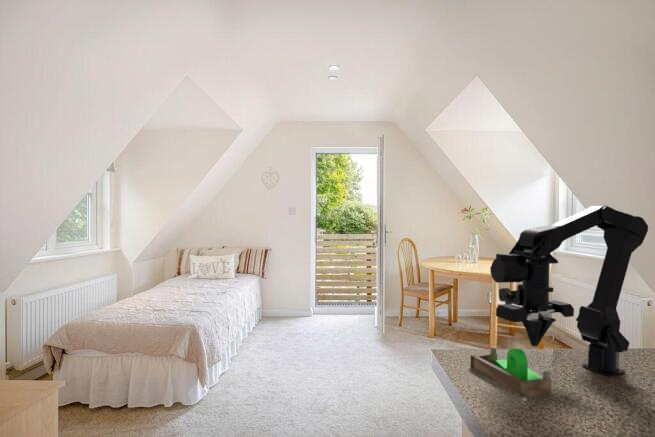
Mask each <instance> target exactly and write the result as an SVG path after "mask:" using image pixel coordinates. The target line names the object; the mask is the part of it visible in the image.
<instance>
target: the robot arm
mask: <svg viewBox="0 0 655 437" xmlns="http://www.w3.org/2000/svg"><path fill="white" fill-rule="evenodd" d="M594 227H596V228H598V229H600V230H602V231H603V240H604V242H605V244H606V252H605V256H604V260H603V264H602V266H601V269H600V274H599V275H598V276H599V277H598V281H597V284H596V287H595V292H594V293H593V294H594V295H593V298H592V301H591V302H590V303H589V304H588V305H587V306H584V305H581V306H580V307H579V310H578V315H577V317H576V319H575V321H576V322H577V324H576V328H577V330H578V331H579V334H580V336H581V340H582V341H584V342H587V343H589V344H588V352H587V363H582V367H584V368H586V369H588V370H591V371H593V372H596V373H598V374H601V375H603V376H606V377H610V376H615V375H617V376H618V375H622V374H625V373H626V370H624V369H621V368H620V353H623V352H628V350H629V349H628V348H629V346H630V341H629V340H628V339H627V338H626V337H625V336H624V335H623V333H621V331H620V328H621V319H620V317H619V314H618V310H617V306H618V304H619V303H618V302H619V298H620V296H621V292H622V289H623V286H624V281H625V278H626V275H627V270H628V267H629V265H630V264H629V263H630V260H631V257H632V256H631V255H632V254H633V252H635V251H636V250H637V249H638V248H639V247H640V246H641V245H642V244H643V243H644V240H645V238H646V237H647V234H648V230H649V225H648V223H647V222H646V220H645V219H644V218H643V217H641V216H636V215H632V214H630V213H626V212H623V211H619V210H617V209H614V208H612V207H611V206H609V205H590V206H589V207H587V208H586V209H584V210H582V211H580V212H577V213H575V214H573V215H570V216H568V217H566V218H564V219H562V220H560V221H557V222H554V223H553V224H550V225H544V226H537V227H532V228H527V229H524V230H523V231H521V232H520V234H519V237H518V240H517V242H515V245H514V246H513V247H512V249H511V250H509V253H508V254H506V253H505V254H504V253H496V254H495V259H493V261H492V263H491V266H490V267H489V268H490V269H489V270H490V275H491V278H492V280H493V281H494V282H495V283H497V284H498V283H499V284H501V283H502V284H503V283H520V284H518V285H517V287H516V288H517V289H516V290H511V289H510V288H509V287H502V288H499V290H498V298H499V299H498V300H499V302H504V304H499V305H497V306H496V307H495V310H496V311H495V316H496V317H497V318H501V319H503V320H506V321H509V322H513V323H522V325H523V327H524V328H525V331H526V334H527V337H528V339H529V342H530V345H531V346H532V347H534V348H535V347H538V346H539V345H540V343H541V341H542V340H543V338H544V336H545V334H546V333H547V331H548V330H549V329H550V327H551V326H552V325H553V323H554V322H556V321H557V319H556V318H554V317H552V314H554V313H560V314H561V315H562V316H563V317H564V318H570V317H574V315H575V308H574V307H573V305H572V304H571V303H567V302H563V301H560V300H554V299H552V300H550V293H554V287H553V286H552V287H551V286H550V264H551V265H552V264H559V260H558V259H557V258H555V257H554V256H553V255H552V252H554V251H555V250H557V249H558V248H560V247H561V245H562V244H563V242H564V241H565V240H567V239H569V238H572V237H575V236H576V235H579V234H581V233H583V232H585V231H587V230H590V229H591V228H594Z"/></svg>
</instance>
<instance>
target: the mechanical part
mask: <svg viewBox="0 0 655 437" xmlns="http://www.w3.org/2000/svg"><path fill="white" fill-rule="evenodd" d="M495 366H497V367H499V368H501V369H503V370H505V371H507V372H509V373H511V374H513V375H514V376H516V377H518V378H520V379H522V380H524V381H530V380H536V379H542V378H543V377H541V376H540V375H539V374H537V372H535V371H533V370H532V369H531V368H529V366H528V358H527V356H526V354H525V351H524V350H523V349H522V348H509V349H508V351H507V355H506V359H497V360H495Z"/></svg>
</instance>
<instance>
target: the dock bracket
mask: <svg viewBox="0 0 655 437" xmlns="http://www.w3.org/2000/svg"><path fill="white" fill-rule="evenodd" d="M489 349H490V351H489V352H485V353H477V354H471V355H470V367H471V368H472V369H473V370H475V371H477V372H478V373H481V374H482V375H484V376H486V377H487V378H489V379H491V380H492V381H494V382H496V383H498V384H499V385H501V386H503V387H505V388H506V389H508V390H510V391H511V392H513V393H515V394H517V395H519V396H520V397H523V398H524V399H529V398H535V397H541V396H545V395H546V396H547V395H551V394H552V381H553V380H552V378H551V374H552V373H551V372H550V371H547V370H545V371H542V372H543V373H542V377H541V378H542V379H536V380H530V381H524V380H522V379H520V378H518V377H516V376H514V375H513V374H511V373H509V372H507V371H505V370H503V369H501V368H499V367H497V366H495V360H498V353H497V346H490V348H489Z"/></svg>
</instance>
